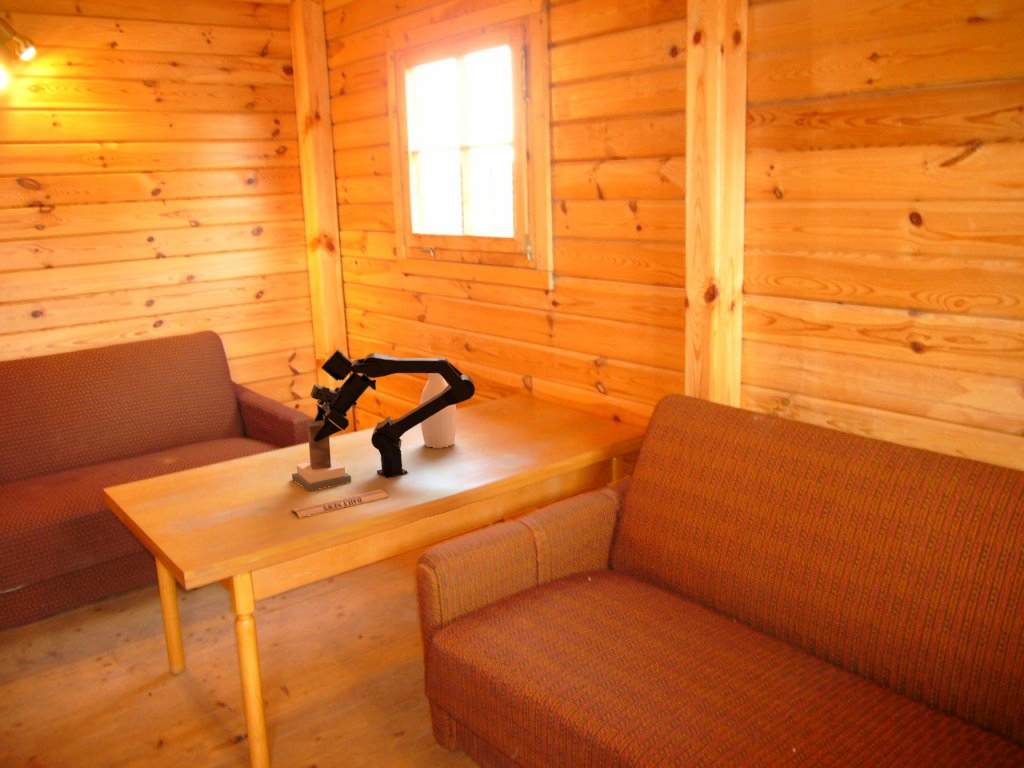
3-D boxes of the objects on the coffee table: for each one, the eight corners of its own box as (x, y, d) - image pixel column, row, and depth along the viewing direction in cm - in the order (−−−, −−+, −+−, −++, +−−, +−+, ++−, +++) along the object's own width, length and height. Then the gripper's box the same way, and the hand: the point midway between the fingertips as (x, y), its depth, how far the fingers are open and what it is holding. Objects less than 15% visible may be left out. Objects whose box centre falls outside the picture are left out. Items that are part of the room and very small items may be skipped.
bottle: (464, 445, 270) (460, 363, 265) (432, 452, 264) (428, 368, 259) (446, 437, 279) (442, 357, 274) (414, 443, 273) (410, 363, 268)
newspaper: (378, 494, 233) (378, 487, 232) (390, 501, 227) (389, 494, 226) (291, 514, 221) (290, 507, 220) (300, 522, 215) (300, 515, 214)
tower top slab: (345, 475, 240) (344, 467, 240) (309, 483, 235) (309, 474, 235) (332, 466, 249) (331, 457, 248) (297, 473, 244) (296, 464, 243)
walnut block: (328, 461, 245) (326, 419, 242) (331, 467, 240) (328, 424, 237) (310, 464, 243) (307, 421, 240) (312, 469, 238) (309, 426, 236)
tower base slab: (351, 484, 241) (350, 475, 240) (309, 494, 234) (308, 485, 234) (333, 473, 251) (332, 464, 250) (292, 482, 244) (291, 473, 243)
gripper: (322, 367, 245) (285, 410, 244) (332, 380, 228) (292, 427, 227) (352, 391, 250) (316, 434, 249) (365, 406, 233) (326, 452, 232)
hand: (312, 436), depth 239 cm, fingers open, 9 cm apart
